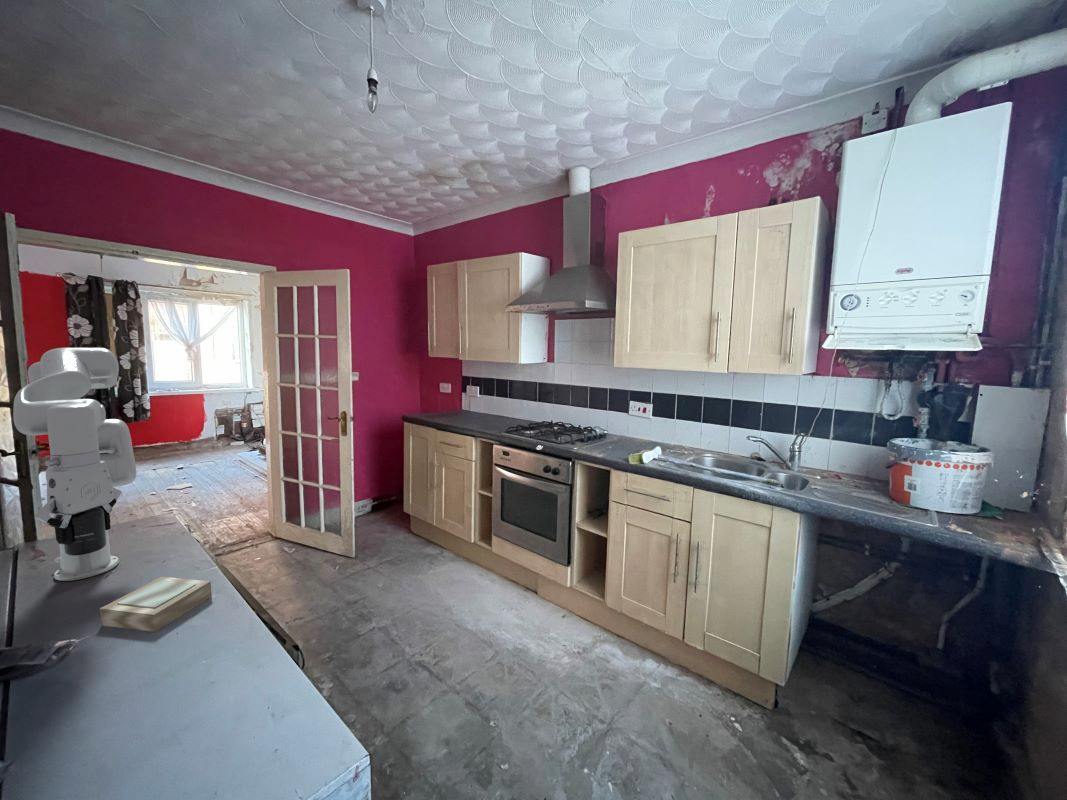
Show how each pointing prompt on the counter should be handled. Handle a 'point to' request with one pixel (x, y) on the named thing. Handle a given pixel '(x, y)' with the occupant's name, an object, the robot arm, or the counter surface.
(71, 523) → the supplement bottle
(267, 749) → the counter surface
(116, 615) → the birch stand
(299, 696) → the counter surface
